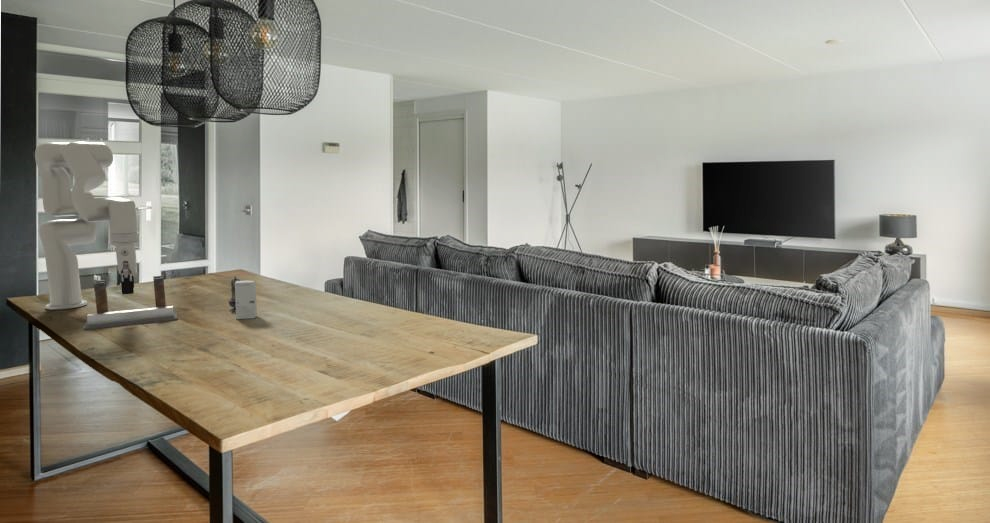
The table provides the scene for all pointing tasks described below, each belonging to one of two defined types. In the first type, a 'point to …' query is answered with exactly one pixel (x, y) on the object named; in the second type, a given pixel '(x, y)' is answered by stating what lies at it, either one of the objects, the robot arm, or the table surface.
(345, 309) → the table surface
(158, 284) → the rack
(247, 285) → the skincare box
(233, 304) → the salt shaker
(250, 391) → the table surface
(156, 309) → the rail
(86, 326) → the mat
